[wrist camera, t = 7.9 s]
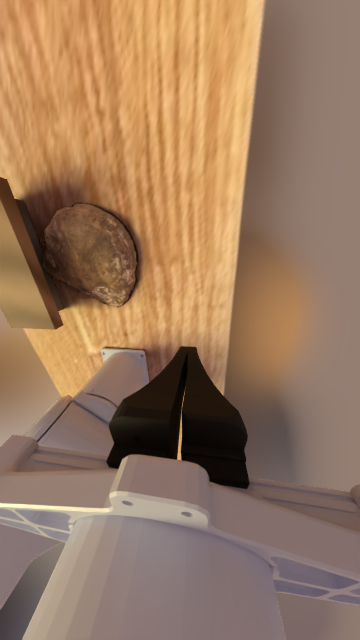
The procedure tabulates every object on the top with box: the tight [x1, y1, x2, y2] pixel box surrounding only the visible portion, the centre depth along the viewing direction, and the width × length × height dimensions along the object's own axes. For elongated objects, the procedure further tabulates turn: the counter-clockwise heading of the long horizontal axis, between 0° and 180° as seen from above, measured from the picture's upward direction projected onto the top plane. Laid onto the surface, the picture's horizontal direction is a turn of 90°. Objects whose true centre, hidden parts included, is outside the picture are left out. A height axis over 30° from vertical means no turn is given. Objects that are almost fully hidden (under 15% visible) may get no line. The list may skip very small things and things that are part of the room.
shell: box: [43, 203, 138, 307], centre depth 19 cm, size 12×13×4 cm
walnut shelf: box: [0, 177, 63, 330], centre depth 18 cm, size 14×6×6 cm, turn 1°
